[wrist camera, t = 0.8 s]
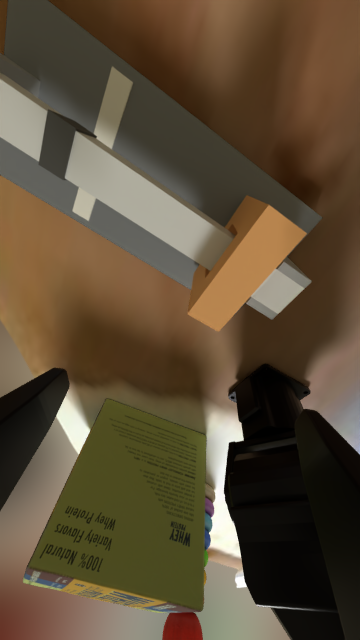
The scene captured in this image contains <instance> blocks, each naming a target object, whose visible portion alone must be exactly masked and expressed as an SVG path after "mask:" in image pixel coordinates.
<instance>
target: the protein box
mask: <svg viewBox="0 0 360 640" xmlns="http://www.w3.org/2000/svg"><path fill="white" fill-rule="evenodd" d="M206 442H207V440H206V435H203V434H201V433H198V432H195V431H193V430H190V429H187V428H185V427H182V426H179V425H177V424H174V423H171V422H169V421H166V420H163V419H161V418H158V417H156V416H153V415H150V414H148V413H145V412H142V411H140V410H137V409H134V408H132V407H129V406H126V405H124V404H121V403H118V402H116V401H113V400H110V399H106V400H105V402H104V404H103V406H102V408H101V410H100V412H99V414H98V416H97V419H96V421H95V423H94V424H93V427H92V429H91V431H90V433H89V435H88V437H87V439H86V441H85V443H84V445H83V447H82V449H81V452H80V454H79V456H78V458H77V460H76V462H75V464H74V466H73V469H72V471H71V473H70V475H69V477H68V479H67V481H66V483H65V486H64V488H63V490H62V492H61V495H60V496H59V499H58V501H57V503H56V505H55V507H54V509H53V512H52V514H51V516H50V518H49V520H48V522H47V524H46V527H45V529H44V531H43V533H42V535H41V537H40V540H39V542H38V544H37V547H36V549H35V551H34V553H33V555H32V557H31V559H30V561H29V563H28V565H27V568H26V571H25V575H24V579H23V582H24V583H27V584H30V585H35V586H39V587H45V588H51V589H55V590H59V591H64V592H67V593H71V594H75V595H79V596H83V597H87V598H91V599H96V600H101V601H106V602H111V603H116V604H120V605H124V606H129V607H133V608H137V609H143V610H147V611H152V612H157V613H180V612H201V611H202V610H203V604H204V551H205V489H206Z"/></svg>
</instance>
